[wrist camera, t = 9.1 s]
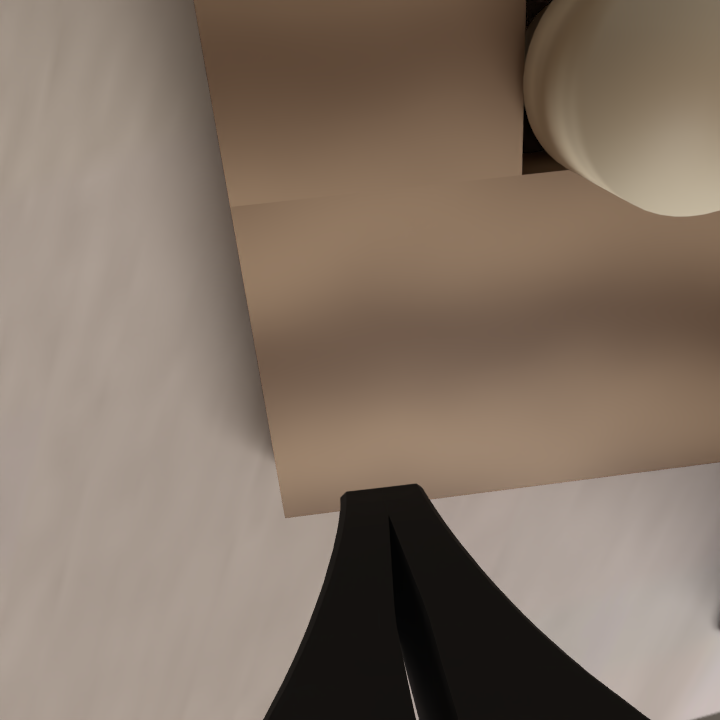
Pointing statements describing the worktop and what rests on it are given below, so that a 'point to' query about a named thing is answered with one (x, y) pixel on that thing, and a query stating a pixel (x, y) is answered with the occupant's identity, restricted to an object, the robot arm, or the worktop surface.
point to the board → (445, 262)
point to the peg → (630, 97)
